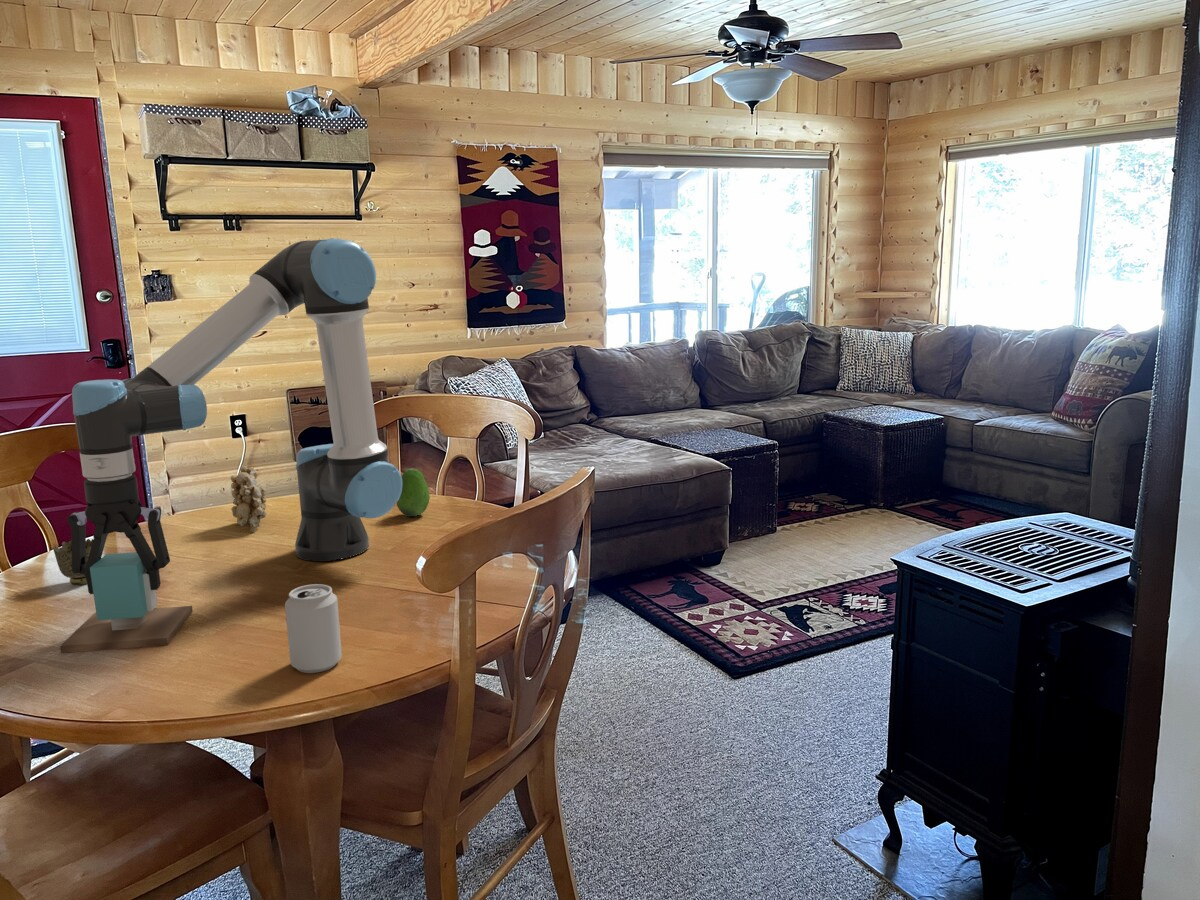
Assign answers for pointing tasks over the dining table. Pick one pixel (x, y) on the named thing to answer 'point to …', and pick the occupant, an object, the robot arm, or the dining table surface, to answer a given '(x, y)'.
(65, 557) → the cup
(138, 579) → the teal toy cube
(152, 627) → the peg base
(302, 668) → the can
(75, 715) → the dining table surface
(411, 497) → the fruit
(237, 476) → the mineral formation
